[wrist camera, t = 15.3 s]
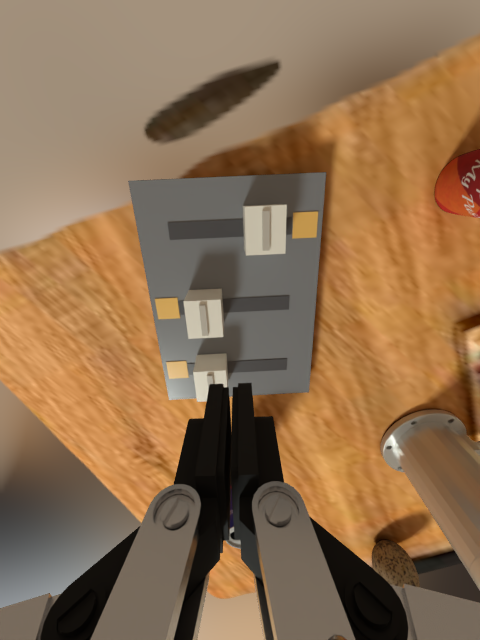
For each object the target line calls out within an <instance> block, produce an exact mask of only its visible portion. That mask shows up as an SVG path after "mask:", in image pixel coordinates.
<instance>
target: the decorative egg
mask: <svg viewBox="0 0 480 640" xmlns="http://www.w3.org/2000/svg"><path fill="white" fill-rule="evenodd" d="M372 565H373V569H374V570H375V571H376V572H377V573H378V574H380V575H381V576H382V577H383V578H384V579H385V580H386V581H387V582H388V583H389V584H391V585H395V586H399V587H403V584H407V585H411V586H415V587H419V588H420V584H419V578H418V574H417V571H416V568H415V566H414V564H413V562H412V560H411V558H410V557H409V555H408V554H407V553H406V551H405V550H404V549H403V548H402V547H401V546H399V545H398V544H397V543H395V542H393V541H390V540H381V541H379V542H377V543H376V545H375V546H374V548H373V551H372Z"/></svg>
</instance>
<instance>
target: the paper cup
mask: <svg viewBox="0 0 480 640" xmlns="http://www.w3.org/2000/svg"><path fill="white" fill-rule="evenodd" d="M435 200H436V202H437V204H438V206H439V207H440V208H441V209H442V210H444V211H446V212H448V213H452V214H458V215H463V216H470V217H476V218H480V149H478V150H475V151H472V152H469V153H466V154H463V155H460V156H458V157H456V158H455V159H453V160H452V161H451V162H449V163H448V164H447V165H446V166H445V168H444V169H443V170H442V172H441V173H440V175H439V177H438V179H437V182H436V185H435Z"/></svg>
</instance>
